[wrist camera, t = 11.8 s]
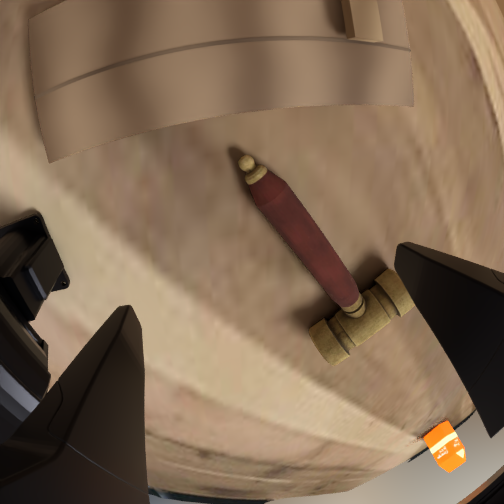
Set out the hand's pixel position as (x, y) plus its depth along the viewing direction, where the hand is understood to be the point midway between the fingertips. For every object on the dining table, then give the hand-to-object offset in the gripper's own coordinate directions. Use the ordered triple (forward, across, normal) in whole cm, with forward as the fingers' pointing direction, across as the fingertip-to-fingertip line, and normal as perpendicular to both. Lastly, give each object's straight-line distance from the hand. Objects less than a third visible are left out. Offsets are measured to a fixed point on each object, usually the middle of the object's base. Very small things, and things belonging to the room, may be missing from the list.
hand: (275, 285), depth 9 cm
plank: (+12, -2, -10) cm, 15 cm away
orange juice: (+12, -60, +98) cm, 116 cm away
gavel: (+13, -6, +8) cm, 16 cm away
